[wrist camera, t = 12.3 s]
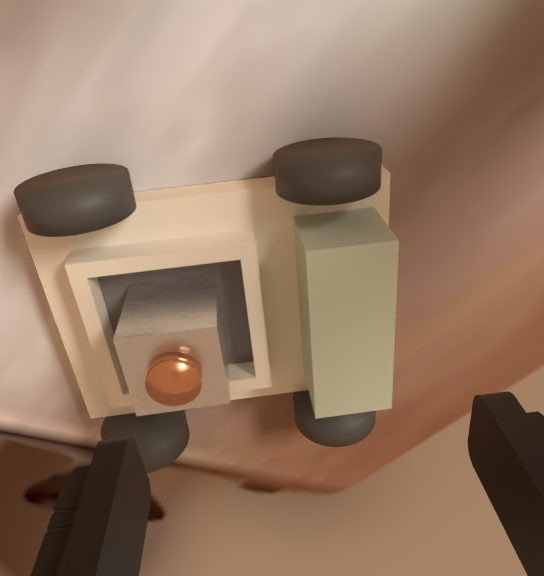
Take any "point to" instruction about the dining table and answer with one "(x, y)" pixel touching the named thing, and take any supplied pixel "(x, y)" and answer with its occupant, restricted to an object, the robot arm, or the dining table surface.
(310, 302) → the chassis
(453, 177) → the dining table surface
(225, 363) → the cube with copper knob
